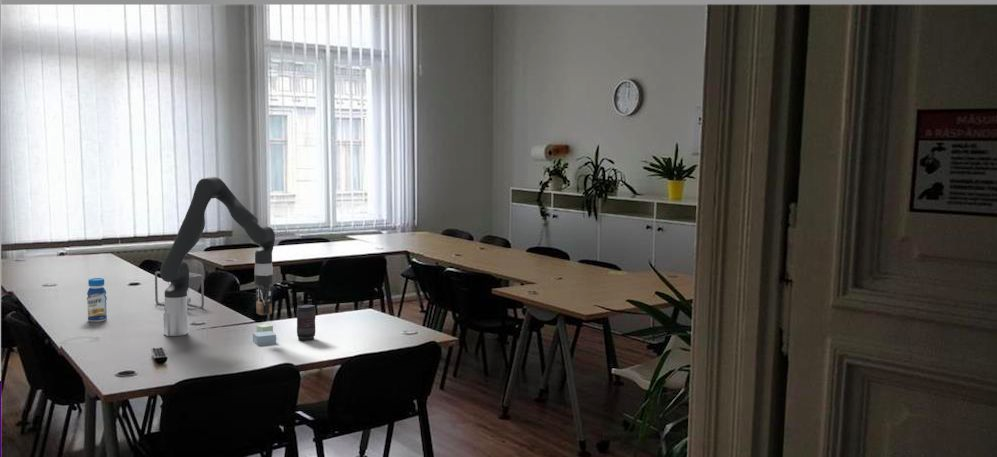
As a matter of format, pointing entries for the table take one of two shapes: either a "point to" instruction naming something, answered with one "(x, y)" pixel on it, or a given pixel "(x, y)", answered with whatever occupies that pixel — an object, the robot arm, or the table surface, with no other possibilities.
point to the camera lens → (306, 322)
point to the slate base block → (264, 338)
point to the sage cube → (264, 328)
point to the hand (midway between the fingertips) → (264, 312)
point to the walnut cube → (262, 308)
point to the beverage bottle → (96, 300)
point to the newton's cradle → (188, 291)
